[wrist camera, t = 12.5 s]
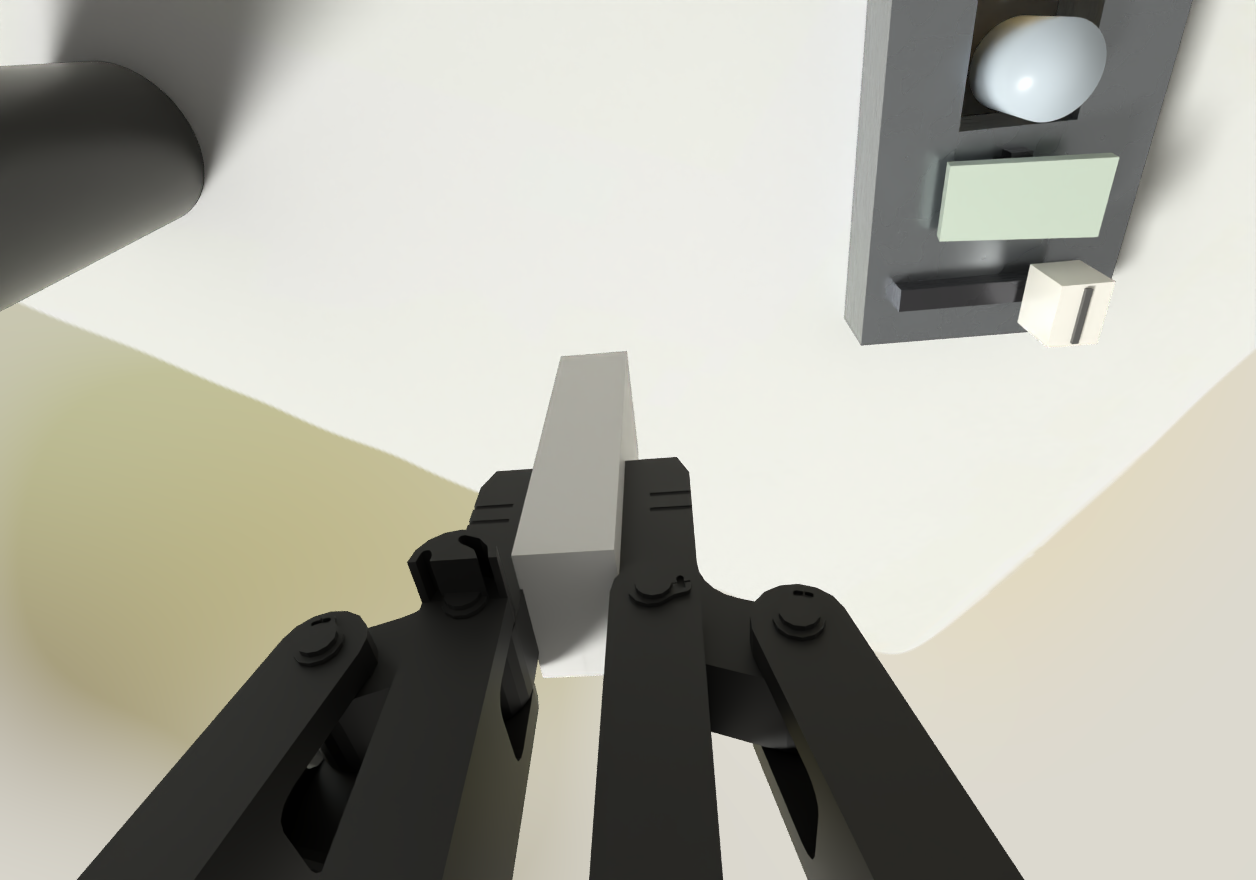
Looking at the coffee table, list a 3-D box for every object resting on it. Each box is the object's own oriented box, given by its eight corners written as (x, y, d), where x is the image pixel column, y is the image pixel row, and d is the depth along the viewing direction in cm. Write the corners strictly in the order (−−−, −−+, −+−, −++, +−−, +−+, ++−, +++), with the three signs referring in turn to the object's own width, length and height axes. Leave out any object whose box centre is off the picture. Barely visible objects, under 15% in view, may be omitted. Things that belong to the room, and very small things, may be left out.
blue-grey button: (976, 20, 32) (1017, 22, 28) (1065, 10, 31) (1118, 11, 28) (962, 114, 34) (999, 126, 30) (1045, 105, 34) (1092, 117, 30)
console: (877, -138, 31) (915, -161, 26) (1182, -179, 30) (1274, -210, 25) (844, 318, 42) (866, 354, 38) (1061, 300, 41) (1109, 335, 37)
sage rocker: (947, 161, 33) (950, 166, 32) (1112, 152, 31) (1119, 157, 30) (936, 235, 35) (939, 241, 34) (1091, 230, 33) (1098, 237, 32)
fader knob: (1030, 264, 35) (1064, 287, 32) (1079, 259, 34) (1118, 283, 32) (1017, 322, 36) (1048, 349, 33) (1064, 318, 36) (1099, 345, 33)
